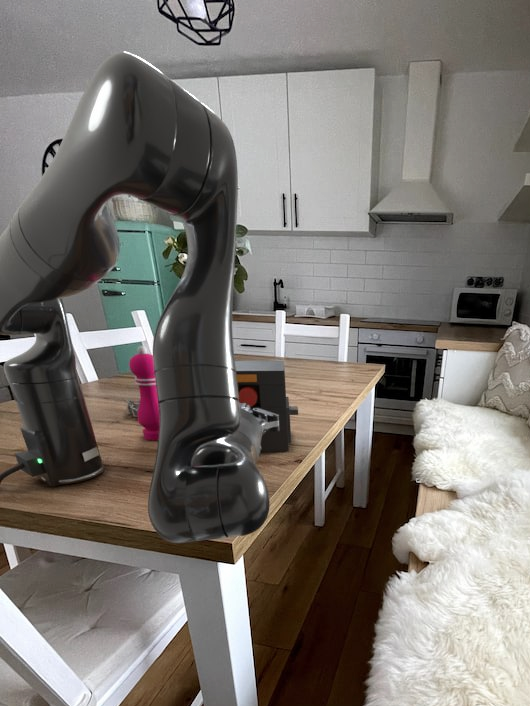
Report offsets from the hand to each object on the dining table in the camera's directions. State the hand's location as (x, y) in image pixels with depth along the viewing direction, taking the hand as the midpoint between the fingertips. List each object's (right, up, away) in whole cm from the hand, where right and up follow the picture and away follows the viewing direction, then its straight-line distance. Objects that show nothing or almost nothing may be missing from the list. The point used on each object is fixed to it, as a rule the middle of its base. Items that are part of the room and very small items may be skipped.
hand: (242, 408), depth 67 cm
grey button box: (-3, -4, +22) cm, 23 cm away
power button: (-2, +3, +12) cm, 13 cm away
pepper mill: (-27, -2, +24) cm, 36 cm away
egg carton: (-38, +6, +40) cm, 55 cm away
